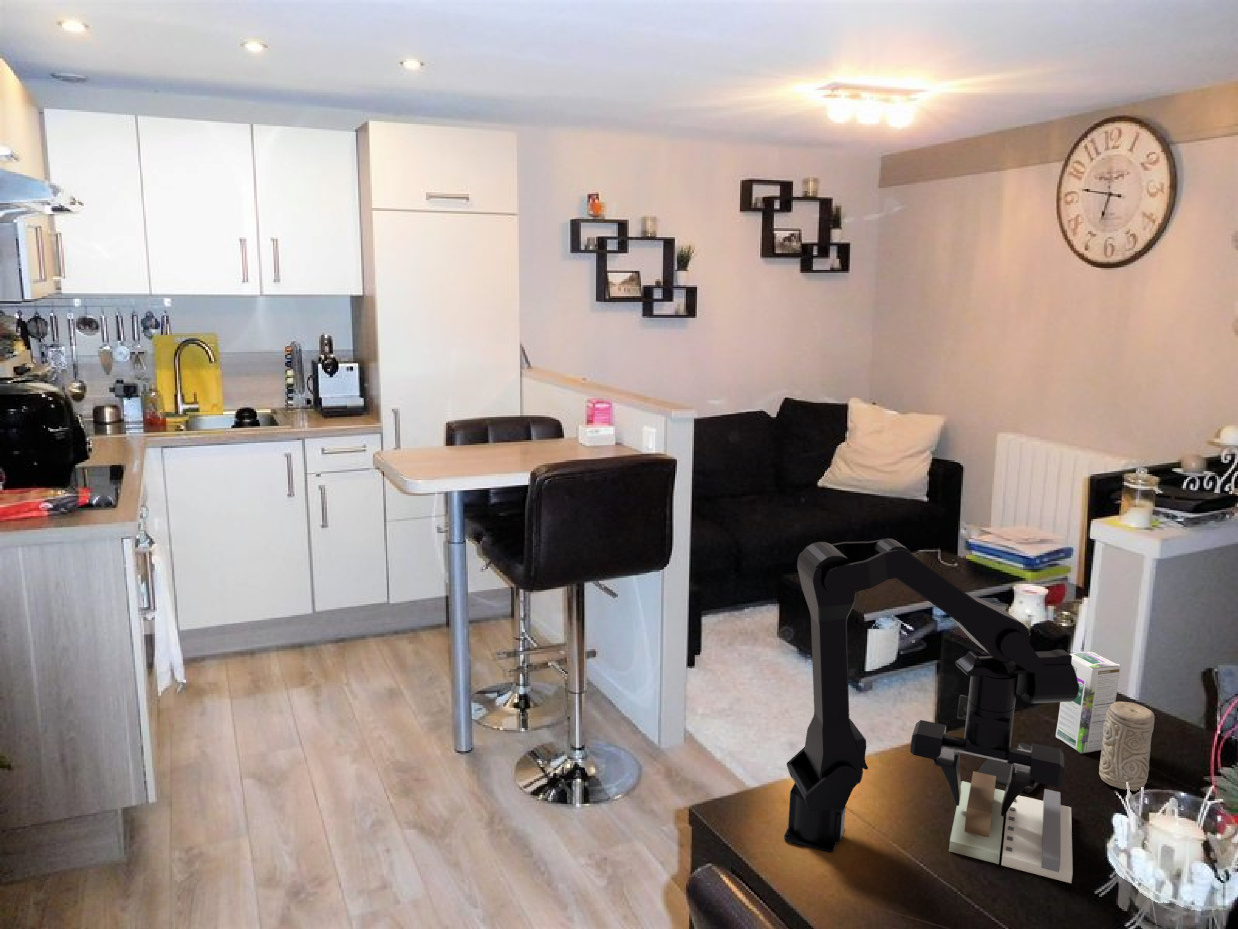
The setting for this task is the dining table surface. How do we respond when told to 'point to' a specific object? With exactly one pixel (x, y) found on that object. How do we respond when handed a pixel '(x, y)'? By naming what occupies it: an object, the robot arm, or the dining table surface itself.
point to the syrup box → (1088, 702)
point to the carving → (1126, 745)
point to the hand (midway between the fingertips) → (979, 809)
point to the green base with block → (978, 819)
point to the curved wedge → (1003, 769)
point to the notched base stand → (1039, 837)
